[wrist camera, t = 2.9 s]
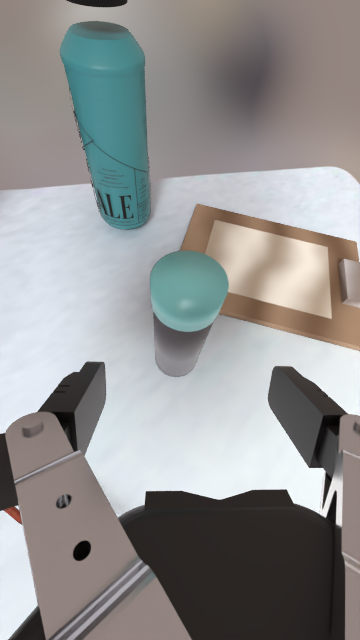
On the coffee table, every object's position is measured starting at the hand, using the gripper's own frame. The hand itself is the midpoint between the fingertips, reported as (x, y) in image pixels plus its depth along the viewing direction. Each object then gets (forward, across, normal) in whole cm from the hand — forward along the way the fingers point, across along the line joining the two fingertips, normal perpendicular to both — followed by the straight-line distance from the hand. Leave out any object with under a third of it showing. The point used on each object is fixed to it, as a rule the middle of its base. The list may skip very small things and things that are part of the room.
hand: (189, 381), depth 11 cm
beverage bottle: (+24, +6, -9) cm, 27 cm away
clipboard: (+19, -11, -4) cm, 23 cm away
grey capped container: (+11, 0, +4) cm, 12 cm away
